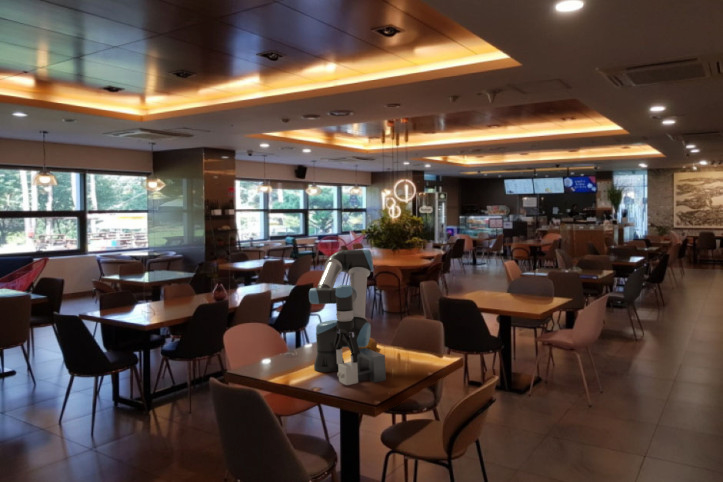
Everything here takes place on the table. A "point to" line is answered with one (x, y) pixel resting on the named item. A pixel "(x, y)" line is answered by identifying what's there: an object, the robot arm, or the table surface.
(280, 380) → the table surface
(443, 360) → the table surface
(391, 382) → the table surface
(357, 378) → the plug
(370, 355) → the cable tunnel
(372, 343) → the golden lumpy mound
